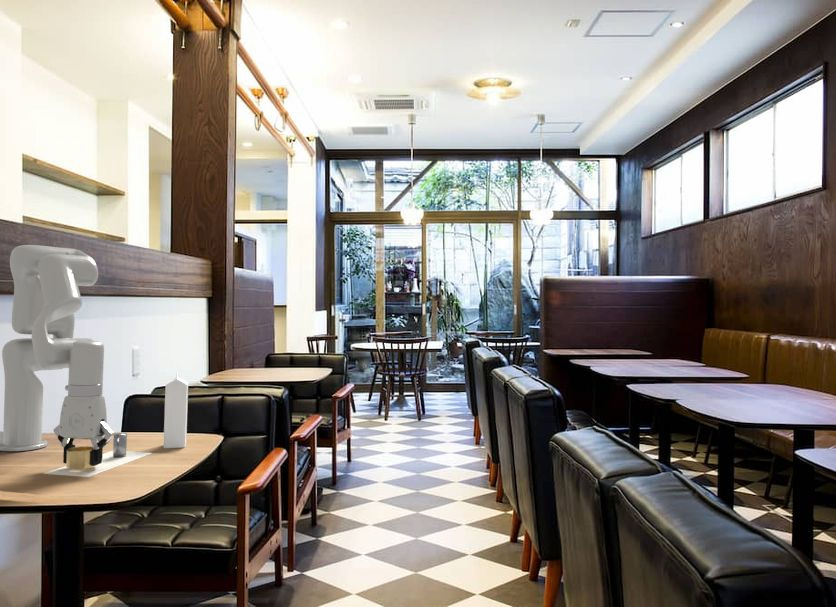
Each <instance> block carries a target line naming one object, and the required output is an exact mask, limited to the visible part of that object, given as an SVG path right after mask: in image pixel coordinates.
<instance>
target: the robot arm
mask: <svg viewBox="0 0 836 607" xmlns="http://www.w3.org/2000/svg"><path fill="white" fill-rule="evenodd" d="M9 268H10V271H11V275H12V279H13V285H14V290H13V301H12V302H13V303H12V312H11V313H12V314H11V327H12V329H13V331H14V333H16V334H17V333H18V334H20V335H31V337H28V338H27V337H26V338H24V337H23V338H16V339H11V340H10V341H7V342H6V343H5V344H4V345H3V347H2V350H1V356H2V357H1V358H2V365H3V373H4V397H3V398H4V399H3V400H4V402H3V403H4V405H3V429H2V431H0V452H23V451H26V452H27V451H33V450H37V449H42V448H45V447H47V446H48V440H46V439H43V438H42V436H43V433H42V432H43V408H44V407H43V406H44V405H43V404H44V385H43V383H42V381H41V380H40V378H38V376H37V375H36V374H35V372H39V371H55V370H56V371H57V370H63V369H68V384H67V385H65V387H64V391H66V392H67V396H64V397H63V398H64V399H63V402H62V405H61V411H60V416H59V417H60V418H59V424H58V425H56V426H55V427H54V428H53V433H54V434H55V436H56V437H57V440H58V441H59V442H60V446H61V447H62V448H63V454H62V455H63V457H62V458H63V460H62V461H63V463H62V464H66V460H67V450H68V449H69V448H72V447H76V445H75V444H74V443H75V440H76V439H77V440H90V442H91V444H92V445H91V446H93V448H94V449H92V450H91V466H95V465H98V464H101V463H102V454H104V452H103V448H105V447H106V445H107V444H108V443H109V442H110V440H111V439H112V438H114V434H115V431H113V430H112V429H111V427H110V426H109V425H108V417H107V414H108V413H107V406H106V405H107V404H106V400H105V396H103V387H104V385H103V382H104V363H105V362H104V360H105V358H104V357H105V345H104V344H103V343H102V342H101V341H97V340H94V339H92V338H86V337H85V338H84V337H82V338H81V337H80V338H79V337H78V338H74V332H75V313H77V312H78V311H79V310H80V309H81V307H82V305H83V300H82V296H81V292H80V289H79V287H91V286H94V285H95V284H96V282H97V281H98V278H99V268H98V266H97V263H96V261H95V259H93V258H92V257H91V256H90V255H88V254H87V253H85V252H84V251H82V250H79V249H76V248H72V247H71V248H69V247H59V246H58V247H57V246H49V245H48V246H47V245H39V244H24V245H22V244H21V245H18V246H16V247H14V248H13V249H12V251H11V253H10V256H9ZM50 335H52V337H51V338H50Z"/></svg>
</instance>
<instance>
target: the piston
mask: <svg viewBox="0 0 836 607" xmlns="http://www.w3.org/2000/svg"><path fill="white" fill-rule="evenodd" d="M127 441H128V433H127V432H117V433H116V432H115V433H114V436H113V442H112V443H113V446H112V449H113V450H112V451H113V457H114V458H122V457H126V451H127V444H128V443H127Z"/></svg>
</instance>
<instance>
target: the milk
mask: <svg viewBox="0 0 836 607" xmlns="http://www.w3.org/2000/svg"><path fill="white" fill-rule="evenodd" d="M175 374H176V377H175V378H172V380H170V381H168V382H167V383H166V384H165V390H164V396H165V397H164V422H163V423H164V424H163V426H164V427H163V449H175V448H176V449H178V448H181V449H182V448H184V449H185V448H186V446H187V432H188V428H187V427H188V398H189V382H188V381H186V380H185V379H182V378H181V377H180V376H179V372H177V373H175Z"/></svg>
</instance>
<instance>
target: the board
mask: <svg viewBox="0 0 836 607" xmlns="http://www.w3.org/2000/svg"><path fill="white" fill-rule="evenodd" d="M151 454H153V452H145V451H143V452H142V451H131V450H130V451H129V450H126V457H122V458H114V457H113V450H111V451H108V452H103V453H102V463H101V464H98V465H97V466H94V467H90V468H84V469H72V468H68V467H66V465H65V466H62V467H59V468H56V469H53V470H49V471H47V472H43V473H42V474H43V475H56V476H69V477H70V476H71V477H83V478H90V477H92V476H95V475H97V474H98V475H99V474H100V473H103V472H106V471H108V470H111V469H113V468H114V469H115V468H117V467H120V466H123V465H125V464H127V463H131V462H133V461H136V460H138V459H141V458H144V457H147V456H149V455H151Z"/></svg>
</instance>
